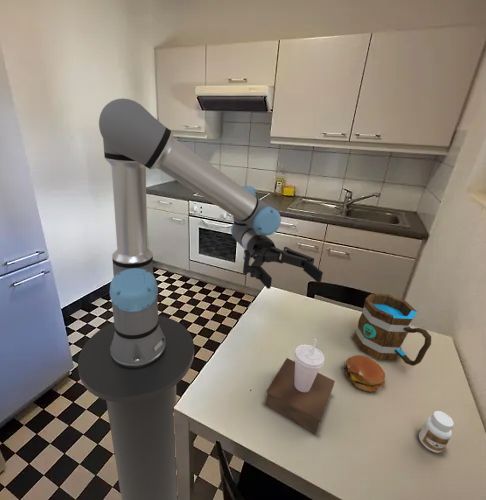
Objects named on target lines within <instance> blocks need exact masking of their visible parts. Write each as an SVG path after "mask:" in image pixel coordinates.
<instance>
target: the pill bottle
mask: <svg viewBox="0 0 486 500" xmlns="http://www.w3.org/2000/svg"><path fill="white" fill-rule="evenodd" d="M454 425H455V423H454V420H453V419H452V417H451V416H450V415H448V414H447V413H445V412H443V411H441V410H435V411H433V413H432V414H431V416H429V417H427V418H426V420H425V422H424V424H423V426H422V428H421V430H420V432H419V433H418V439H419V441H420V443H421V444H422V445H423V446H424V447H425V448H426V449H427V450H429V451H431V452H433V453H439V454H440V453H442V452H443V451H444V449H445V448H446V446H447V444H448V443H449V441H450V439H451V437H452V436H453V431H452V429H453V427H454Z"/></svg>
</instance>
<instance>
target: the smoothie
mask: <svg viewBox="0 0 486 500" xmlns="http://www.w3.org/2000/svg"><path fill="white" fill-rule="evenodd" d="M317 343H318V339H317V338H314V340H313V345H312V344H299V345H298V346H297V347H296V348H295V349H294V353H293V354H294V358H295V359H294V362H295V378H294V385H295V387H296V389H297V390H299V391H301V392H308V391H309V390H310V388H311V386H312V384H313V382H314V379H315V377H316V375H317V373H319V371H320V370H321V367H322V366H323V365H324V362H325V355H324V353H323V352H322V351H321V350H320V348H317Z"/></svg>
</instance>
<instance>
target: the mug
mask: <svg viewBox="0 0 486 500" xmlns="http://www.w3.org/2000/svg"><path fill="white" fill-rule="evenodd" d="M417 313H418V311H417V310H416V309H415V308H414V307H412V305H411V304H409V302H407V301H406V300H404V299H401V298H398V297H396V296H394V295H391V294H389V293H375V292H374V293H373V292H371V293H370V294H369V295H367V297H366V298H365V299H364V305H363V309H362V312H361V313H360V317H359V318H358V323H357V327H356V330H355V333H354V335H353V337H352V340H353V341H354V343H355V345H356V346H357V348H358V349H359V351H361V352H363V353H364V354H365V355H366V354H367V355H368V356H370V357H372V358H374V359H376V361H393V362H395V361H397V359H398V357H400V358H401V360H402V361H403V362H404V363H405V364H406V365H408V366H409V365H410V366H412V367H413V366H416V365H419V364H420V363H421V362H422V361H423V360H424V358H425V355H426V353H427V351H428V350H429V348H430V347H431V345H432V335H431V334H430V333H429V332H428V331H427V330H426V329H424V328H421V327H414V328H413V327H411V324H412V322H413V320H414V318H415V316H416V315H417ZM414 333H418V334H421V335H422V337H423V338H424V343H423V345H422V347H421V348H420V349H419V351H418V353H417V355H416V357H415V359H414V360H412V359H410V357H409V356H408V355H407V354H406V353H405V352H404V351H403V350H402V346H403V344H404V341H405V340H406V338H407V336H408V334H414Z"/></svg>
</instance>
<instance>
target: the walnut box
mask: <svg viewBox="0 0 486 500" xmlns="http://www.w3.org/2000/svg"><path fill="white" fill-rule="evenodd" d="M294 378H295V360H293V359H290V358H288V357H286V358H285V360H284V362H283V364H282V365H281V366H280V368H279V370H278V372H277V373H276V375H275V376H274V378H273V379H272V381H271V383H270V385H269V386H268V388H267V390H266V393H267V394H266V401H265V406H266V407H268V408H270V409H271V410H273V411H274V412H276V413H278V414H279V415H282V416H283V417H285V418H286V419H288V420H290V421H291V422H292V423H295V424H297V425H298V426H300V427H301V428H303V429H305V430H307V431H309V432H310V433H312V434H314V435H315V436H316V435H317V433H318V430H319V427H320V424H321V423H322V420H323V417H324V414H325V412H326V408H327V405H328V402H329V400H330V397H331V394H332V391H333V389H334V385H335V384H336V383H335V382H336V380H334V379H332V378H330V377H328V376H325V375H324V374H322V373H320V372H318V373H317V375H316V377H315V379H314V382H313V384H312V386H311V388H310V390H309V391H308V392H301V391H299V390H297V389H296V387H295V385H294Z"/></svg>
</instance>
